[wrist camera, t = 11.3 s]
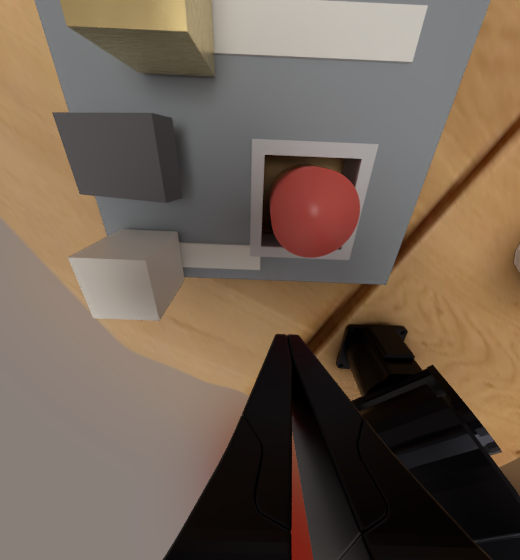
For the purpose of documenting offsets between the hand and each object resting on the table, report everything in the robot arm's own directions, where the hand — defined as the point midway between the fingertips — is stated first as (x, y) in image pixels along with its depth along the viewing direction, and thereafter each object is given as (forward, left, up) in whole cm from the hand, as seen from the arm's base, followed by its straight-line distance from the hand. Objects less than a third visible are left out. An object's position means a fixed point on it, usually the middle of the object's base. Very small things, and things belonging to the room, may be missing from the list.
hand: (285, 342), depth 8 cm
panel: (+5, +1, -13) cm, 14 cm away
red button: (+3, -2, -12) cm, 13 cm away
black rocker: (+5, +9, -8) cm, 13 cm away
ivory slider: (-1, +9, -9) cm, 13 cm away
